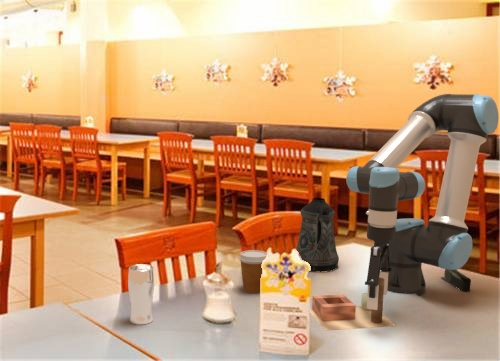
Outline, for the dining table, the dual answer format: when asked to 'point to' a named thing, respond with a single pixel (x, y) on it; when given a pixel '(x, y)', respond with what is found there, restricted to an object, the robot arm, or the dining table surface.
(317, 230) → the beer stein
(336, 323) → the board
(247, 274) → the disposable coffee cup
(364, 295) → the loose bead
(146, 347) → the dining table surface
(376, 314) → the brown wooden cylinder
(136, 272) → the beer glass
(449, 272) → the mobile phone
